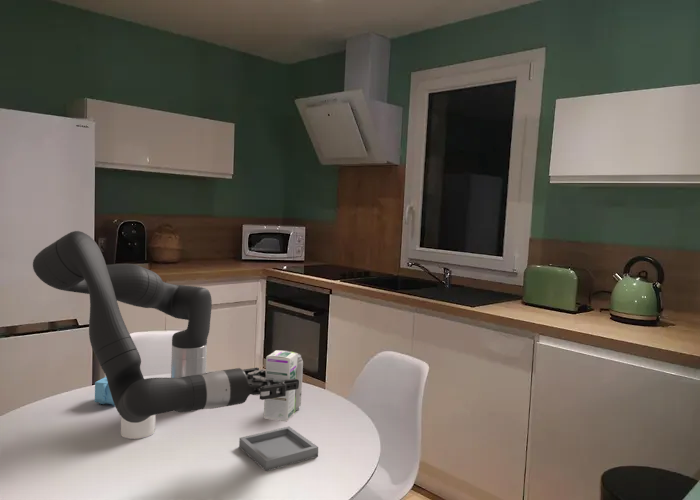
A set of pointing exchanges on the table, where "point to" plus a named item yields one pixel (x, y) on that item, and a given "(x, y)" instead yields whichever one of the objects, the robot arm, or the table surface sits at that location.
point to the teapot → (103, 392)
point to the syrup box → (280, 369)
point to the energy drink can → (299, 377)
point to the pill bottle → (138, 428)
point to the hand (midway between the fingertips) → (288, 378)
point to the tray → (278, 448)
